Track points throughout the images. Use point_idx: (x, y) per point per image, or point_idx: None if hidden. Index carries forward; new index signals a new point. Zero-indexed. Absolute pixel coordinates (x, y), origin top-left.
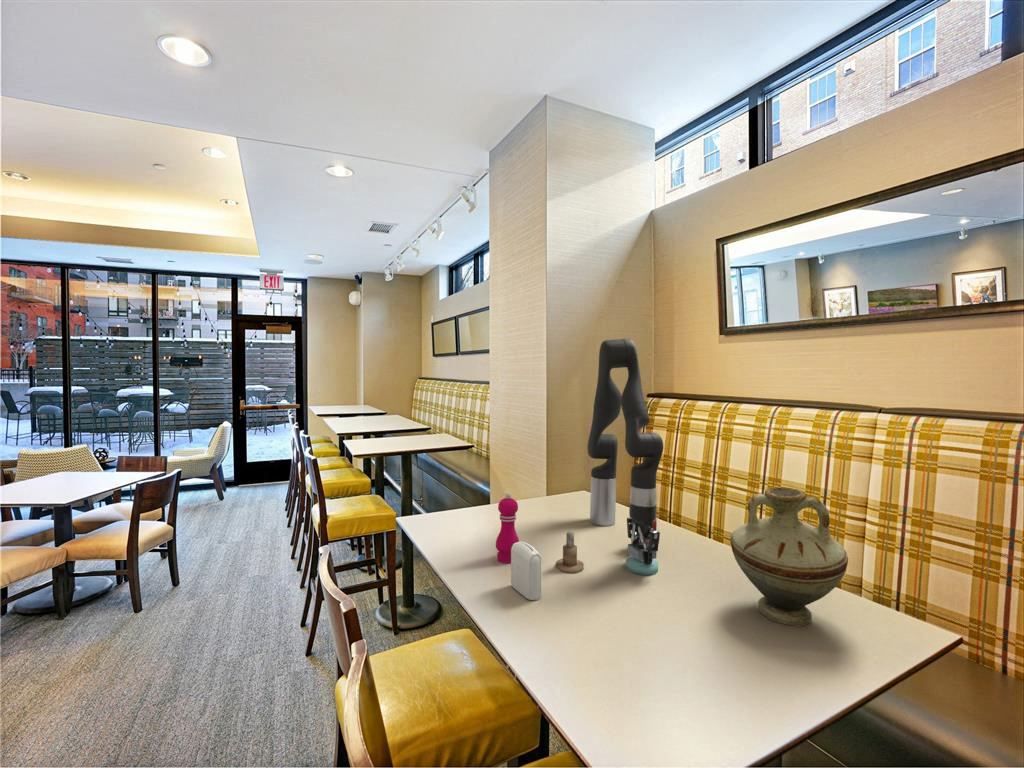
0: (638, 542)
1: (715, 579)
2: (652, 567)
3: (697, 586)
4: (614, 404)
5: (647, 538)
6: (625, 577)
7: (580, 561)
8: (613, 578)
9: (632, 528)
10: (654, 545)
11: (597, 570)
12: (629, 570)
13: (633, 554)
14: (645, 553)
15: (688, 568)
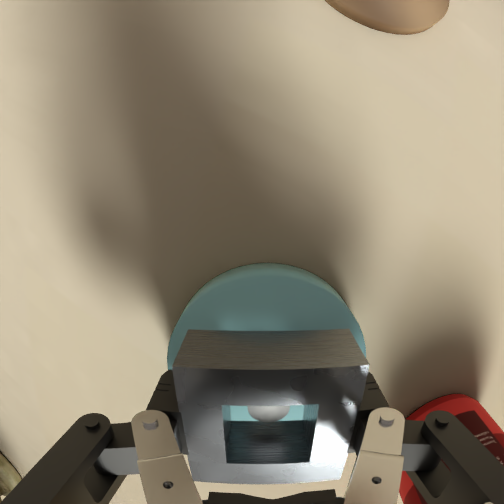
0: (354, 447)
1: (125, 495)
2: None
3: None
4: None
5: (416, 489)
6: (176, 193)
7: (406, 22)
8: (182, 115)
9: (451, 492)
10: (110, 482)
11: (311, 73)
12: (250, 264)
13: (261, 340)
14: (165, 402)
15: None
